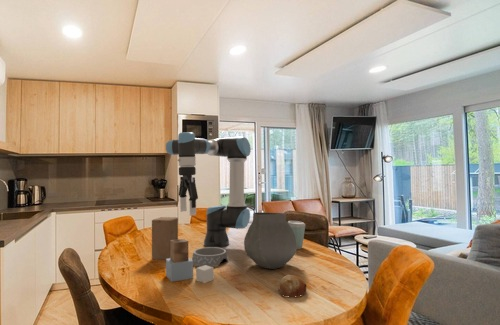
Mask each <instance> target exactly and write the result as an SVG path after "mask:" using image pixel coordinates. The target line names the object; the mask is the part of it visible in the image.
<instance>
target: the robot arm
mask: <svg viewBox="0 0 500 325" xmlns="http://www.w3.org/2000/svg"><path fill="white" fill-rule="evenodd" d="M251 149H252V148H251V144H250V142H249V140H248V138H247V137H245V136H231V137H219V138H215V139H205V138H203V137H202V138H201V137H200V138H199V137H198V138H197V137H196V135H195V133H194V132H193V131H192V132H188V131H186V132H185V131H184V132H180V133H178V136H177V139H171V140H168V141H167V142H166V144H165V150H166V153H167V154H169V155H170V156H178V159H177V162H178V166H179V167H178V175H179V176H180V177H179V178H180V180H179V188H178V196H179V202H180V212H187V208H188V207H187V197H188V196H189V199H188V202H189V216H197V200H198V199H199V196H198V190H197V186H196V177H193V176H195V175H196V174H197V172H196V170H197V169H196V164H197V163H196V162H197V161H196V155H209V156H210V157H211V156H214V157H215V156H216V157H225V158H226V159H227V161H228V162H229V192H228V194H229V195H228V196H229V197H228V198H229V199H228V200H229V202H228V204H227V205H225V204H223V205H222V204H221V205H216V206H210V207H207V208H206V214H205V215H206V233H205V236H204V240H203V245H204V246H205V247H218V248H222V247H227V246H229V245H230V240H229V237H228V233H227V229H237V230H238V229H239V230H240V229H241V230H243V229H246V228H247V227H248V224H249V223H250V219H251V212H250V210H249V209H248V208H247V204H246V203H245V162H246V161H247V159H248V156H250V155H251V152H252V151H251ZM187 193H188V195H187Z"/></svg>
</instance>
